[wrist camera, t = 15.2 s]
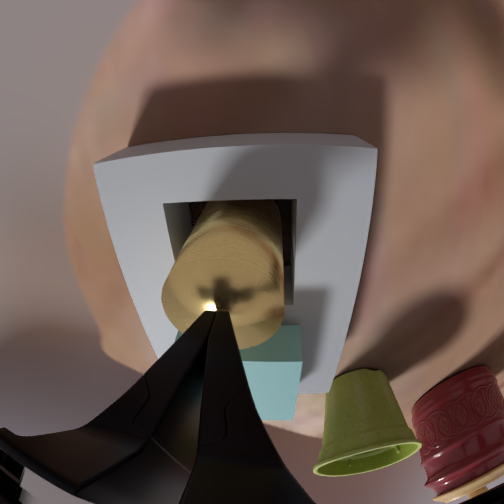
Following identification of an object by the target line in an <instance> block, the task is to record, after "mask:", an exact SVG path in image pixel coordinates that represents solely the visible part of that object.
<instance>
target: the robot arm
mask: <svg viewBox="0 0 504 504" xmlns="http://www.w3.org/2000/svg"><path fill="white" fill-rule="evenodd" d="M0 504H316V503H315V502H314V501H313V500H312V499H311V498H310V497H309V495H308V494H307V493H306V492H305V490H304V489H303V488H302V487H301V485H300V484H299V483H298V482H297V480H296V479H295V478H294V477H293V475H292V474H291V473H290V471H289V470H288V469H287V467H286V466H285V464H284V462H283V461H282V459H281V457H280V455H279V454H278V452H277V450H276V448H275V446H274V444H273V442H272V440H271V438H270V436H269V434H268V432H267V430H266V428H265V427H264V424H263V422H262V420H261V418H260V416H259V413H258V411H257V409H256V406H255V403H254V400H253V397H252V394H251V390H250V387H249V384H248V380H247V377H246V373H245V369H244V366H243V362H242V358H241V355H240V351H239V347H238V344H237V340H236V336H235V332H234V328H233V324H232V321H231V317H230V313H229V311H218V312H217V311H211V310H206V311H204V312H203V313H202V314H201V315H200V316H199V317H198V318H197V319H196V320H195V321H194V322H193V323H192V324H191V326H190V327H189V328H188V329H187V330H186V331H185V332H184V333H183V334H182V335H181V336H180V337H179V338H178V339H177V340H176V341H175V342H174V343H173V344H172V345H171V346H170V348H169V349H168V350H167V351H166V352H165V353H164V354H163V355H162V356H161V357H160V358H159V359H158V360H157V361H156V362H155V363H154V364H153V365H152V366H151V367H150V368H149V369H148V370H147V372H146V373H145V374H144V376H142V377H141V378H140V379H139V380H138V381H137V382H136V383H135V384H134V385H133V386H132V387H131V388H130V389H129V390H128V391H127V392H126V393H124V394H123V395H122V396H121V397H120V398H119V399H117V400H116V401H115V402H114V403H113V404H111V405H110V406H109V407H108V408H107V409H105V410H104V411H103V412H102V413H101V414H99V415H98V416H97V417H95V418H94V419H93V420H92V421H90V422H89V423H88V424H86V425H84V426H82V427H80V428H77V429H73V430H68V431H62V432H57V433H51V434H45V435H37V436H27V437H26V436H19V435H15V434H14V433H12V432H11V431H9V430H8V429H7V428H4V427H3V428H0ZM460 504H504V483H502V484H500V485H498V486H496V487H494V488H492V489H490V490H488V491H485V492H483V493H481V494H479V495H477V496H475V497H473V498H471V499H468V500H466V501H464V502H462V503H460Z"/></svg>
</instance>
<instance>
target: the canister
mask: <svg viewBox="0 0 504 504" xmlns="http://www.w3.org/2000/svg"><path fill="white" fill-rule="evenodd" d="M412 423H413V428H414V429H415V432H416V436H417V439H418V440H420V441H421V442H422V447H421V448H420V449H419V451H420V456H421V466H422V467H424V468H425V470H426V474H427V482H426V483H425V485H424V487H425V488H427V489H432V490H433V491H434V492H435V493H436V495H437V496H436V497H434V498H433V501H441V502H444V503H448V502H451V501H454V500H456V499H458V498H461V497H463V496H465V495H468V494H469V496H468V499H471V498H473V497H475V496H477V495H479V494H481V493H483V492H485V491H488V489H487V487H486V485H488V484H489V483H491V482H493V481H495V480H496V479H498V478H500V477H501V476H503V475H504V399H503V396H502V394H501V391H500V389H499V386H498V384H497V379H496V377H495V374H494V373H493V372H492V371H491V370H490V368H489V367H488V366H477V367H473V368H470V369H467V370H465V371H463V372H461V373H458V374H456V375H454V376H453V377H451V378H449V379H447V380H446V381H444V382H442V383H441V384H439V385H437V386H436V387H435V388H433V389H432V390H430V391H429V392H428V393H426V394H425V395H424V396H423V397H422V398H421V399H420V400H419V401H418V402H417V403H416V404H415V405H414V407H413V409H412Z"/></svg>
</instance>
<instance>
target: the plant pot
mask: <svg viewBox="0 0 504 504" xmlns="http://www.w3.org/2000/svg"><path fill="white" fill-rule="evenodd" d="M421 447H422V442H421V441H420V440H418V439H416V438H415V436H414V434H413V432H412V430H411V429H410V428H409V427H408V426H407V423H406V421H405V419H404V416H403V414H402V411H401V409H400V407H399V405H398V402H397V400H396V398H395V395H394V393H393V391H392V388H391V386H390V384H389V381H388V379H387V377H386V375H385V373H384V372H382V371H381V370H377V371H372V370H368V369H359V370H355V371H351V372H348V373H345V374H343V375H341V376H339V377H337V378H336V379H335V380H334V381H333V382H332V385H331V388H330V391H329V393H326V404H325V422H324V434H323V444H322V450H321V451H320V453H319V458H318V464H316V465H315V466H314V468H313V472H314V473H315V474H317V475H322V476H346V475H352V474H359V473H364V472H369V471H373V470H376V469H380V468H383V467H386V466H389V465H392V464H394V463H397V462H399V461H401V460H403V459H405V458H407V457H409V456H411V455H412V454H414V453H415V452H417V451H418V450H419V449H420V448H421Z"/></svg>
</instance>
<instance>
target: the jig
mask: <svg viewBox="0 0 504 504" xmlns="http://www.w3.org/2000/svg"><path fill="white" fill-rule="evenodd" d="M377 154H378V148H376V147H374V146H372V145H371V144H369V143H367V142H366V141H364V140H362V139H360V138H358V137H357V136H355V135H343V134H323V133H254V134H234V135H219V136H207V137H196V138H187V139H178V140H170V141H163V142H156V143H149V144H143V145H137V146H131V147H126V148H124V149H122V150H120V151H118V152H116V153H114V154H112V155H110V156H108V157H106V158H104V159H102V160H100V161H98V162H96V163H94V164H93V168H94V173H95V178H96V182H97V187H98V191H99V195H100V199H101V203H102V207H103V211H104V214H105V218H106V222H107V225H108V229H109V232H110V235H111V239H112V242H113V245H114V248H115V252H116V255H117V258H118V261H119V264H120V267H121V270H122V272H123V275H124V278H125V281H126V284H127V286H128V289H129V292H130V294H131V297H132V300H133V302H134V305H135V307H136V310H137V312H138V315H139V317H140V319H141V322H142V324H143V327H144V329H145V331H146V334H147V336H148V338H149V340H150V342H151V345H152V347H153V349H154V351H155V353H156V355H157V358H158V359H159V358H160V357H161V356H162V355H163V354H164V353H165V352H166V351H167V350H168V349H169V348H170V346H171V345H172V344H173V343H174V341H175V338H176V336H177V333H178V329H177V328H176V327H175V326H174V325H173V324H172V323H171V322H170V320H169V319H168V317H167V315H166V314H165V311H164V309H163V305H162V300H161V294H162V288H163V285H164V283H165V281H166V279H167V277H168V275H169V273H170V271H171V269H172V267H173V265H174V263H175V261H176V259H177V257H178V255H179V253H180V251H181V250H182V248H183V246H184V244H185V242H186V240H187V238H188V237H189V235H190V233H191V231H192V229H193V226H192V220H191V213H190V207H189V202H196V201H219V200H252V199H292V223H291V266H283V272H284V306H285V313H284V319H283V322H282V324H281V325H300V330H301V345H302V361H303V362H302V369H301V376H300V382H299V388H298V394H314V393H329V391H330V388H331V385H332V382H333V379H334V376H335V373H336V369H337V366H338V363H339V360H340V356H341V353H342V349H343V346H344V342H345V339H346V335H347V331H348V328H349V324H350V320H351V316H352V312H353V308H354V303H355V299H356V295H357V290H358V286H359V281H360V276H361V271H362V266H363V261H364V255H365V250H366V244H367V238H368V232H369V225H370V219H371V211H372V204H373V196H374V187H375V177H376V166H377Z"/></svg>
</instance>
